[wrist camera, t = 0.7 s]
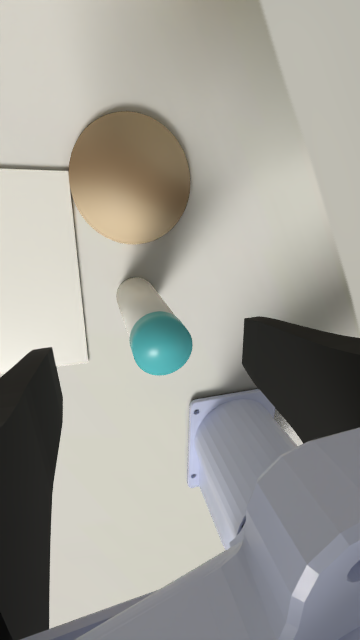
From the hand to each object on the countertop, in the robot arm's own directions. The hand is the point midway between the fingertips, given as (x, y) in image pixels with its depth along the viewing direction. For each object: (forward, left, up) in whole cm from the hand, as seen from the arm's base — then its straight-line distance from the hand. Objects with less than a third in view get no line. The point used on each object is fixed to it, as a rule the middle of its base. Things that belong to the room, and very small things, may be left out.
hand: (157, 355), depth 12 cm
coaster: (+6, -1, -10) cm, 12 cm away
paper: (+1, +7, -10) cm, 12 cm away
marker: (-1, -1, -10) cm, 10 cm away
